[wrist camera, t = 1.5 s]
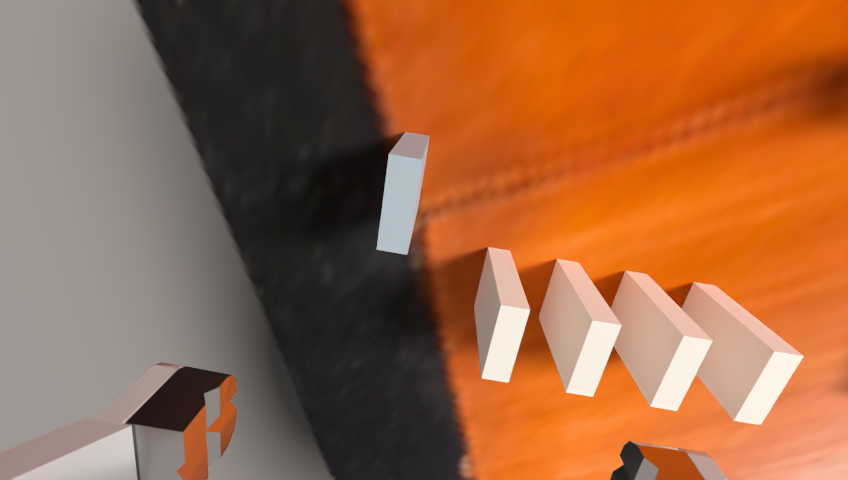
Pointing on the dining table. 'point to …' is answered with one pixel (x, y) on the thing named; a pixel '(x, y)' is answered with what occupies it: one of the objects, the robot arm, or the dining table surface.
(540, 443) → the dining table surface
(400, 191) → the domino
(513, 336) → the domino
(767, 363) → the domino
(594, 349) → the domino
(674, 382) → the domino
